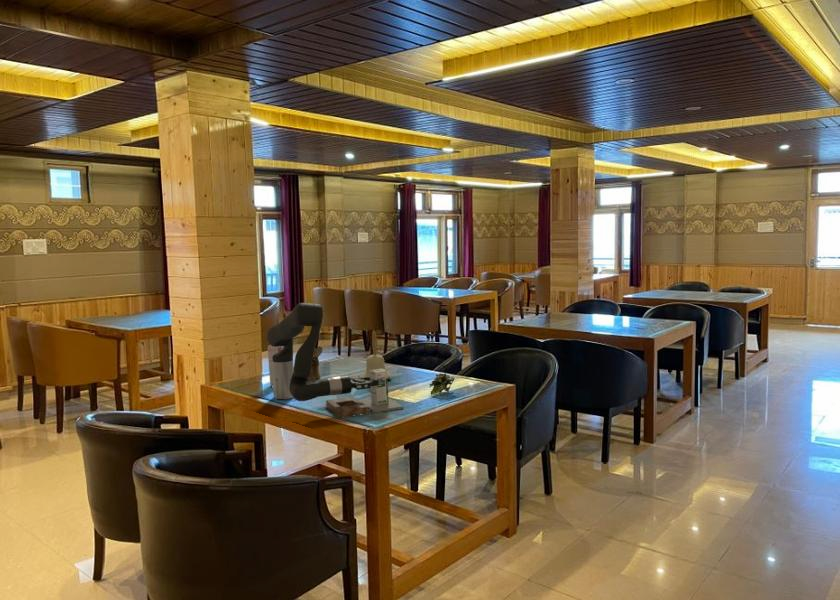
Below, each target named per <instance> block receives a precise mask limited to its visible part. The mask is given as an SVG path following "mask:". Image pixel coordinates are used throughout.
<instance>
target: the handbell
mask: <svg viewBox="0 0 840 600" xmlns="http://www.w3.org/2000/svg"><path fill="white" fill-rule="evenodd" d="M371 346H372V347H371V348H372V353H373V354H371V355H369V356H367V358H366V362H365V364H366V369H365V371H364V372H363V373H362V375H360V377H370V370H377V369H385V370H386V367H385V359H384V357H383V355H381V354H378V353H377V352H378V338H377V332H376V331H372V335H371ZM391 377H392V375H391V373H390V372H389V371H387V378H388V379H390V378H391Z"/></svg>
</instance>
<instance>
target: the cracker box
mask: <svg viewBox="0 0 840 600" xmlns="http://www.w3.org/2000/svg"><path fill="white" fill-rule="evenodd" d="M283 348H284V346H279V347H273V346H271V345H270V344H269V345H267V359H268V371H269V386H273V377H274V376H273V360H272V357H273V355H274V354H276V353H278V352H280V351H281V350H282V349H283Z"/></svg>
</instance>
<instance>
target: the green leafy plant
mask: <svg viewBox="0 0 840 600" xmlns="http://www.w3.org/2000/svg"><path fill="white" fill-rule="evenodd" d="M453 382H455V377H454V376H450V375H449V374H447V373H439V374H435V378H433V380H431V383H429V388H431V387H432V389H431V391H430V395H432V396H433V395H434V394H438V393H441V392H442V391H445V392H447V394H449V393H450V389H451V387H452V385H453ZM448 385H449V386H448ZM440 391H441V392H440Z"/></svg>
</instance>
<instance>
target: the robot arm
mask: <svg viewBox="0 0 840 600" xmlns="http://www.w3.org/2000/svg"><path fill="white" fill-rule="evenodd" d="M323 317H324V310H323V307H322V305H321V304H319V303H308V302H299V303H297V304H296V305H295V306H294V308H293V309H292V310H291V312H290V313H289V314H288V315H287V316H285V317H284V318H283V319H282V320H281V321H279V322H278V323H277V324H276V325H274V326H271V327H270V328H269V329H268V330H267V336H266V338H267V342H268V344H269V345H271V346H273V347H279V346H284V348H283V349H282V350H281V351H280V352H278V353H276V354H274V355H273V357H272V360H273V376H274V377H273V387H272V392H273V398H274V397H275V398H276V399H284V400H290V398H291V399H295V400H296V401H298V402H306V401H310V400H314V399H316V398H319V397H327V396H338V395H346V394H347V395H348V394H351V392H352V389H355V390H357V391H359V390H367V389H369V390H371V386H378V385H379V381H378V380H374V381H370V377H361V375H360V376H351V377H350V376H349V375H340V376H333V377H328V378H320V379H317V380H313V382H310V383H307V382H308V380H307V378H308V376H310V373H311V367H312V360H313V357H314V356H313V354H314V350H315V349H316V346H317V342H318V339H319V335H320V332H321V327H322V324H323ZM305 327H311V328H310V330H309V333H308V336H307V337H306V339H305V340H304V341H303V343H302V344H301V345H300V346H299V348H298V350H297V351H296V353H295V356H294V338H295V337H297V336H299V335H300V334H302V332H303V330H304V329H305ZM294 357H295V358H294ZM293 397H294V398H293ZM275 398H274V399H275ZM276 399H275V400H276Z"/></svg>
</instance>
